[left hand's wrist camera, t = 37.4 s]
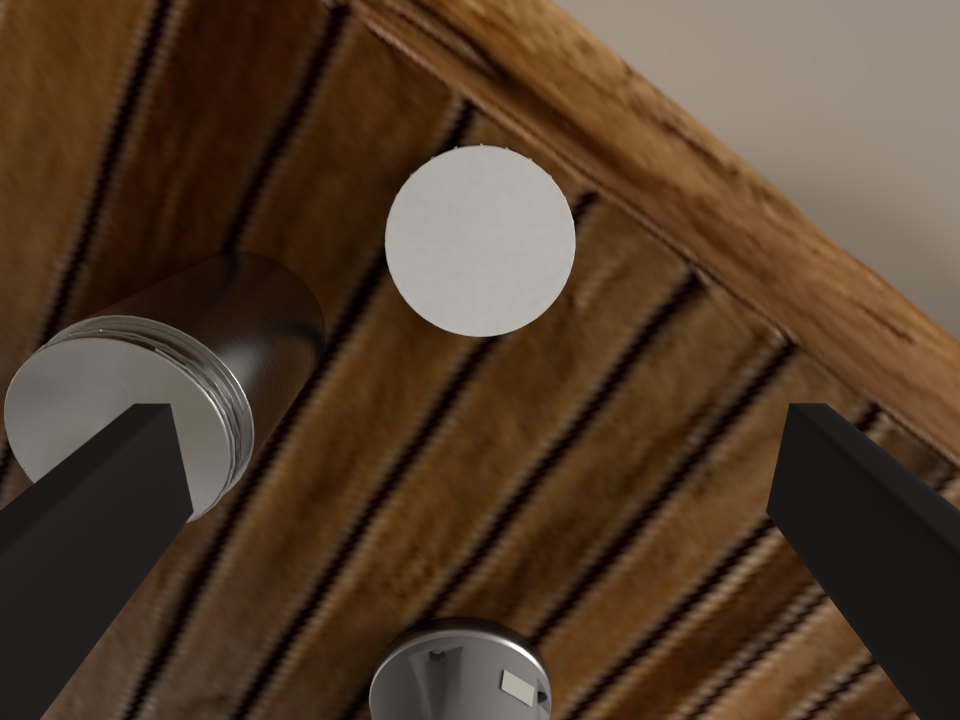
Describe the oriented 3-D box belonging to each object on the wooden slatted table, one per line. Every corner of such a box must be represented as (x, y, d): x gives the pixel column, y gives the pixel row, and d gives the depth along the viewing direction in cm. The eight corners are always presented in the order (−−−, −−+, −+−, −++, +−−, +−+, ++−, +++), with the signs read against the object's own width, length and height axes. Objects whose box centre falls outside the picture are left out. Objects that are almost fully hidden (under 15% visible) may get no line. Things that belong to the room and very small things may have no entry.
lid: (605, 258, 37) (612, 266, 35) (463, 358, 39) (462, 370, 38) (499, 102, 34) (501, 100, 32) (351, 222, 36) (344, 227, 34)
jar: (277, 422, 41) (172, 574, 27) (145, 341, 39) (-41, 461, 25) (354, 314, 38) (282, 422, 24) (217, 219, 36) (51, 279, 22)
